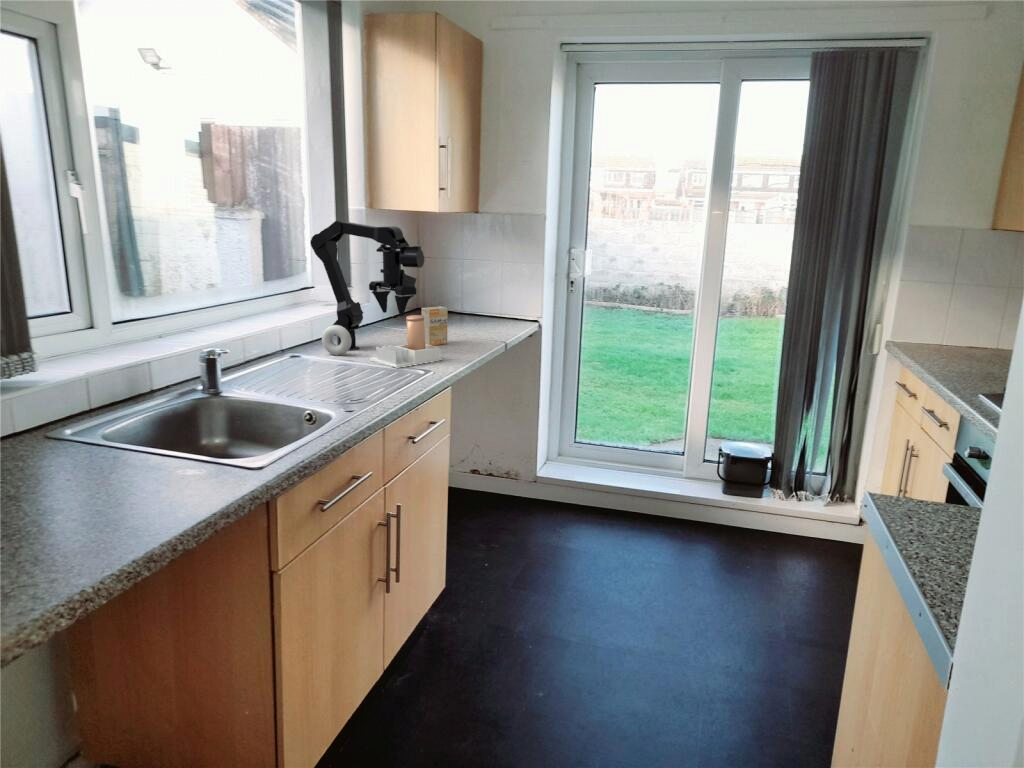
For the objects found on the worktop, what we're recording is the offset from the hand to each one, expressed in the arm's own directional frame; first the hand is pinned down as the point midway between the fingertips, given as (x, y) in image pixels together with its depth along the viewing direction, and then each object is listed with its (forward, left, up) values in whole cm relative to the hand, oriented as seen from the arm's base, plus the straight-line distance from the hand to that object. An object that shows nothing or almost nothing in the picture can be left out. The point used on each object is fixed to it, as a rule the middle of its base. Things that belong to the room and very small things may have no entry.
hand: (393, 314), depth 235 cm
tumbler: (+14, -1, -12) cm, 18 cm away
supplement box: (-3, +20, -13) cm, 24 cm away
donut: (-9, -16, -13) cm, 23 cm away
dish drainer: (+12, -4, -13) cm, 18 cm away
